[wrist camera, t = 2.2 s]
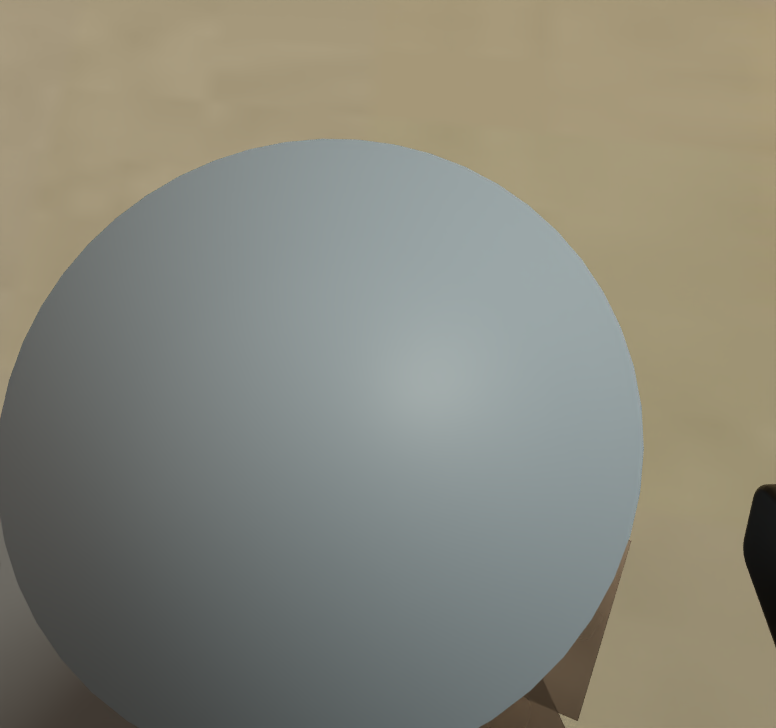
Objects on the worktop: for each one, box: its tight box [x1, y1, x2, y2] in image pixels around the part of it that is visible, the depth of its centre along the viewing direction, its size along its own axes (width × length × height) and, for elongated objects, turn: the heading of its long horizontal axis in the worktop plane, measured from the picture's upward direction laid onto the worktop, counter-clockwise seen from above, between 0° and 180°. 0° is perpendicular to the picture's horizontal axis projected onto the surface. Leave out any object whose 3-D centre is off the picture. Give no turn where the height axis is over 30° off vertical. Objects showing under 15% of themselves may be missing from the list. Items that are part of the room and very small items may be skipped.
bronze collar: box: [479, 540, 631, 728], centre depth 15 cm, size 8×8×3 cm
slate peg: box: [0, 139, 644, 728], centre depth 11 cm, size 4×4×12 cm
